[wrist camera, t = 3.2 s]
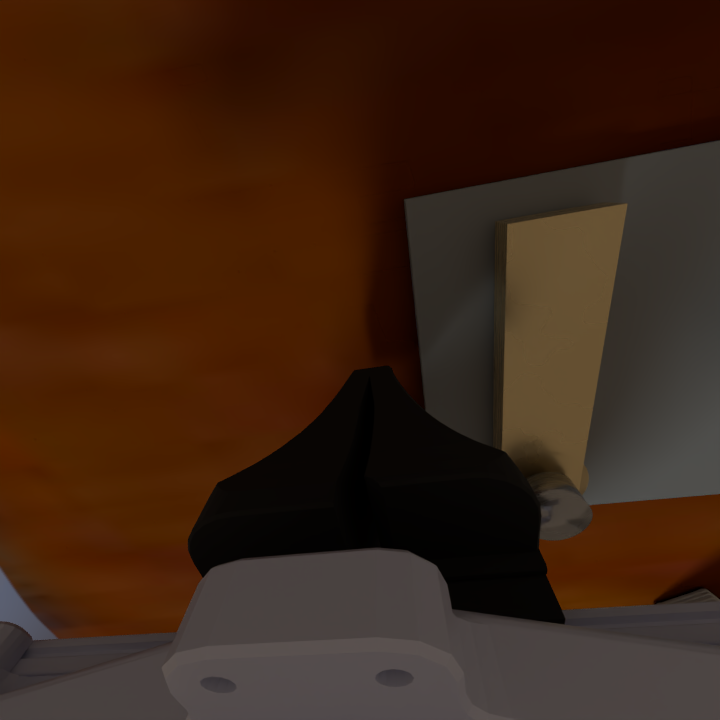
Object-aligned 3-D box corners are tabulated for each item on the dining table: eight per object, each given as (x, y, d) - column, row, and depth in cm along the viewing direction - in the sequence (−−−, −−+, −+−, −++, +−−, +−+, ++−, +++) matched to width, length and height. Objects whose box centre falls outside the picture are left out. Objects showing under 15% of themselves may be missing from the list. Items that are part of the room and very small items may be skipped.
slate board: (783, 476, 15) (799, 486, 14) (435, 507, 17) (437, 518, 16) (990, 89, 9) (1031, 82, 8) (403, 199, 10) (405, 199, 10)
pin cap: (570, 509, 13) (588, 537, 12) (513, 514, 13) (525, 542, 12) (577, 468, 12) (596, 495, 11) (515, 474, 12) (528, 501, 11)
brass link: (569, 493, 15) (582, 513, 14) (485, 501, 15) (492, 521, 14) (614, 200, 9) (640, 201, 9) (484, 223, 10) (495, 226, 9)
